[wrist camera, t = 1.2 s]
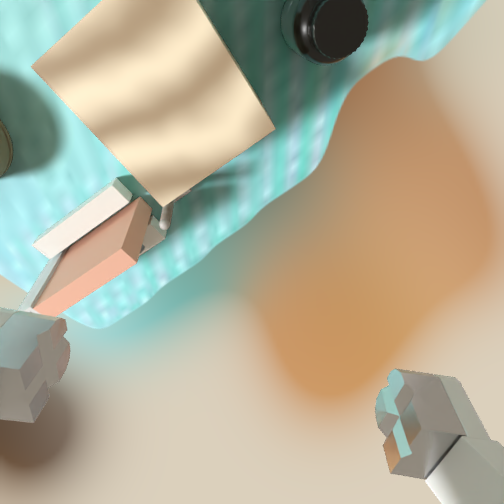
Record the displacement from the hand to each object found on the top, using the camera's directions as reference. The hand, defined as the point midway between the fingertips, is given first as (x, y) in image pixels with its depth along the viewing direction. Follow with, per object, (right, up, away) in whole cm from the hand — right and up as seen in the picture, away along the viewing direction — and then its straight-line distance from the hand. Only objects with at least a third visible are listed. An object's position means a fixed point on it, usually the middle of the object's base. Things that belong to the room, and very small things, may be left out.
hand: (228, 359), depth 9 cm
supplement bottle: (+7, +28, +31) cm, 43 cm away
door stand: (-21, +6, +43) cm, 48 cm away
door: (-21, +5, +44) cm, 49 cm away
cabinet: (-9, +21, +34) cm, 41 cm away
